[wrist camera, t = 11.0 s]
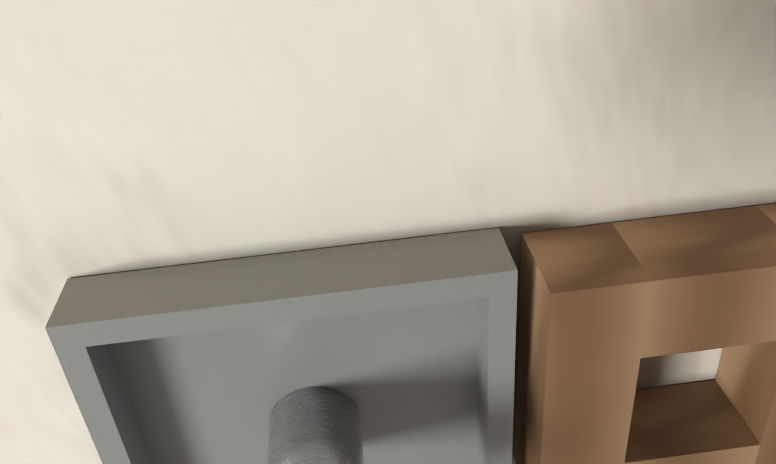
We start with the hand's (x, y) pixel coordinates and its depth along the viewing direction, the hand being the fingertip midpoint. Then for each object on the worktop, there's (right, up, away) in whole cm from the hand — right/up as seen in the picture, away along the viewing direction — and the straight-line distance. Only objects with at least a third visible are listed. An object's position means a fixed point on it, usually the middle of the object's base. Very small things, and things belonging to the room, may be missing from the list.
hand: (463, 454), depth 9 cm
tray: (-3, -3, +16) cm, 17 cm away
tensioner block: (+8, -1, +16) cm, 18 cm away
